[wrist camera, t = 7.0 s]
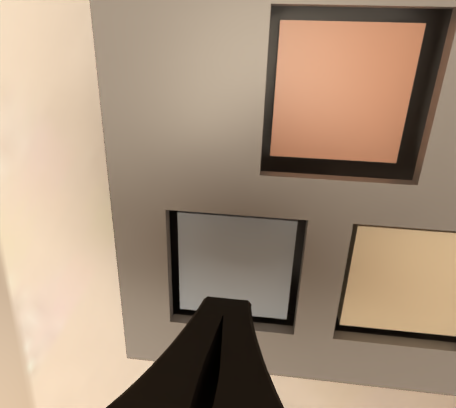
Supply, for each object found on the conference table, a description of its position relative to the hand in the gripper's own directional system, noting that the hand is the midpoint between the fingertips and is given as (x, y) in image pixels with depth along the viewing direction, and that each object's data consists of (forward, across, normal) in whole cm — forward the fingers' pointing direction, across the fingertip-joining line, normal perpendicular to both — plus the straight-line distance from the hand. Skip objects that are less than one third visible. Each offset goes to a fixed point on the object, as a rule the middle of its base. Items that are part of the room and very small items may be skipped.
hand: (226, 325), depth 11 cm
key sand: (+5, -6, 0) cm, 8 cm away
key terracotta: (+6, -3, -6) cm, 9 cm away
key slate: (+5, 0, 0) cm, 5 cm away
